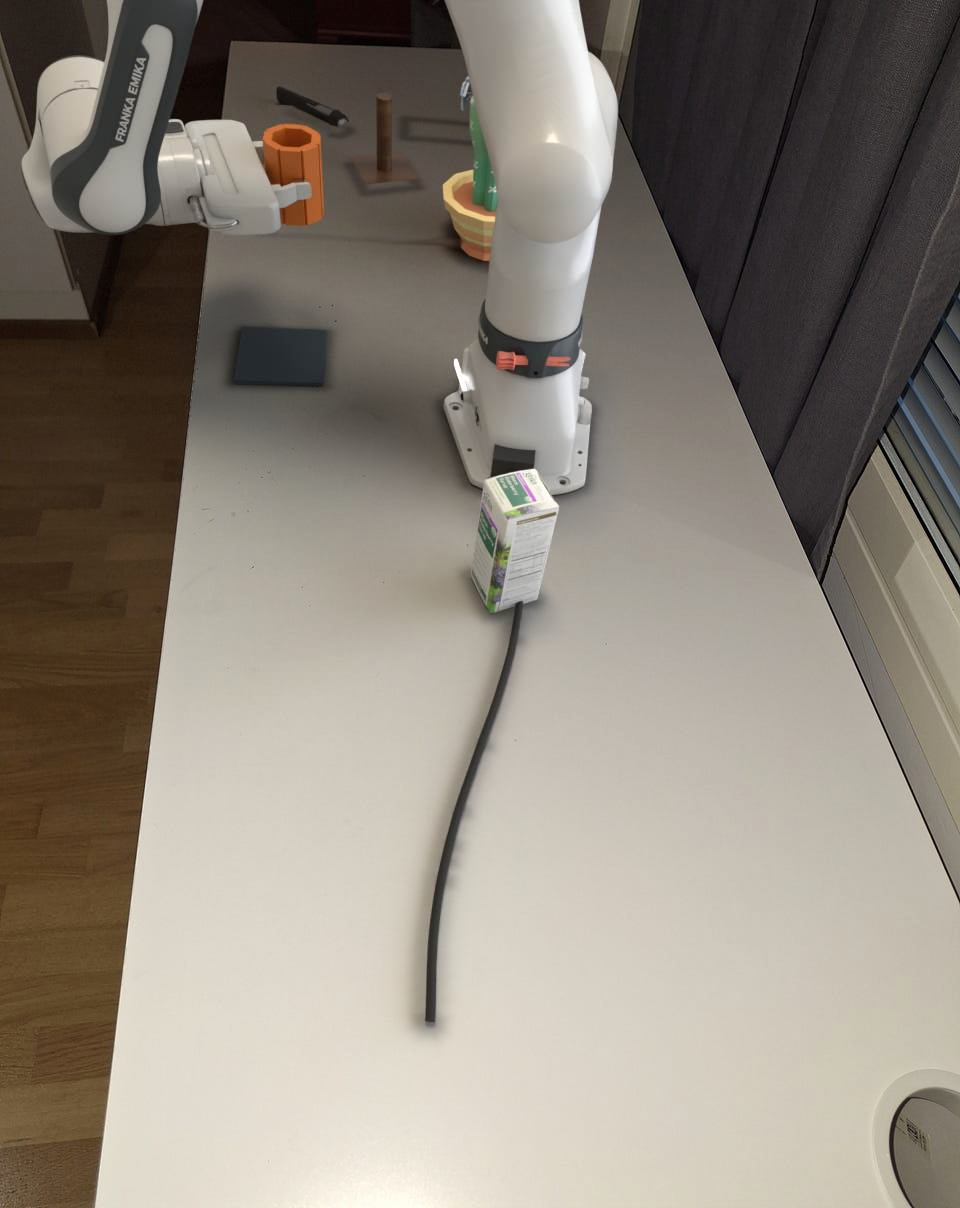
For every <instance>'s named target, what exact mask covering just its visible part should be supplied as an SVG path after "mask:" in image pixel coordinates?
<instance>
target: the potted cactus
mask: <svg viewBox="0 0 960 1208" xmlns="http://www.w3.org/2000/svg"><path fill="white" fill-rule="evenodd" d="M459 96H460V111H462V112H463V111H464V110H465V108H466V105H467V101H468V100H469V98H470V100H469V135H470V139H471V144H472V148H473V169H469V170H465V171H462V172H457V173H455V174H453V175H452V176H451V177H450V178H448V180H446V181H445V182H444V183H443V184H442V196H443V204H444V209H445V210H446V211H447V212H448V213H449V214H450V218H451V222H452V225H453V228H454V231H456V233H457V235H458V236H459V237H460V239H459V240H460V248H461V250H463V251H464V252H465V254H467V255H468V256H469V257H471V258H474V259H478V260H481V261H482V262H484V261H485V262H490V252H491V244H492V236H493V230H494V223H495V217H496V210H497V203H498V197H497V191H496V185H495V179H494V174H493V170H492V166H491V162H490V159H489V155H488V152H487V148H486V145H485V141H484V137H483V133H482V130H481V126H480V122H479V118H478V114H477V110H476V106H475V102H474V98H473V93H472V89H471V85H470V80H469V76H468V75H467V76H466V77H465V78H464V81H463V82H462V85H461V88H460V93H459Z"/></svg>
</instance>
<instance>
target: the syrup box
mask: <svg viewBox="0 0 960 1208" xmlns="http://www.w3.org/2000/svg"><path fill="white" fill-rule="evenodd" d="M559 510H560V505H559V504H558V503H557V502H556V500H555V499H554V497H553V495H551V493H550V491H549V489H548V488H547V486H546V484H545V483H544V481H543V480H542V479H541V477H540V475H539V474H538V472H537V470H536V469H529V470H522V471H516V472H511V473H507V474H503V475H499V476H496V477H492V478H489V479H486V480H484V486H483V489H482V494H481V501H480V509H479V515H478V520H477V521H478V522H477V529H476V533H475V534H476V535H475V542H474V547H473V557H472V564H471V570H470V578H471V579H472V581H473V583H474V585H475V588H476V590H477V592H478V594H479V595H480V597H481V600H482V602H483V603H484V605H485V607H486V609H487V610H488V612H489V614H494V613H497V612H501V611H504V610H505V611H506V610H508V609H512V608H515V605H516V603H517V602H519V601H523V605H524V604H527V603H531V602H535V601H537V600H538V599H539V595H540V590H541V586H542V582H543V577H544V573H545V569H546V565H547V560H548V556H549V552H550V548H551V543H552V539H553V536H554V535H553V534H554V531H555V526H556V523H557V519H558V514H559Z"/></svg>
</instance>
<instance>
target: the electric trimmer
mask: <svg viewBox="0 0 960 1208" xmlns="http://www.w3.org/2000/svg"><path fill="white" fill-rule="evenodd" d="M275 91H276V100H277V102H278V103H280V104H281V105H283V106H291V107H294V108H296V109H297V110H299V111H301V112H304V113H306V114H309V115H311V116H314V117H316V118H318V119H321V120H322V121H325V122H326V123H328V124H329V125H330V126H334V127H337V128H338V127H339V126H341V125H344V124H345V123H348V122H350V120H349V118H348V117H347V116H346V114H345V113H342V111H340V110H339V109H334V108H331V107H329V106H326V105H325V104H322V103H320V102H318V101H316V100H313V99H311V98H309V97H307V96H304V95H301V94H299V93H297V92H296V91H295V92H294V91H293V90H290V89H287V88H286V87H283V86H280V85H279V86H277V87H276V90H275Z"/></svg>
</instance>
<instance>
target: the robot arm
mask: <svg viewBox="0 0 960 1208" xmlns="http://www.w3.org/2000/svg"><path fill="white" fill-rule="evenodd" d="M444 3H445V6H446V9H447V11H448V14H449V17H450V19H451V23H452V25H453V28H454V30H455V33H456V36H457V39H458V42H459V45H460V48H461V51H462V56H463V59H464V64H465V66H466V72H467V76H469V80H470V85H471V89H472V93H473V98H474V102H475V106H476V110H477V114H478V118H479V122H480V126H481V130H482V133H483V137H484V141H485V145H486V148H487V152H488V155H489V159H490V162H491V166H492V170H493V174H494V179H495V185H496V191H497V197H498V203H497V210H496V217H495V223H494V230H493V236H492V244H491V252H490V261H488V271H487V282H486V293H485V299H484V300H483V302H482V303H481V307H480V312H479V314H478V320H477V326H478V330H477V336H476V338H475V339H474V340H473V341H472V342H471V343H470V344H469V345H467V347H466V348H464V350H463V354H462V360H461V361H462V362H461V367H460V363H459V361H458V358H454V360H453V365H454V368H455V372H456V376H457V378H458V380H459V384H458V390H457V391H455V392H452V393H451V394H448V395H447V396H446V397H445V398H444V400H443V404H442V405H443V406H442V408H443V410H444V413H445V416H446V420H447V422H448V425H449V428H450V430H451V433H452V436H453V439H454V442H455V445H456V448H457V450H458V453H459V456H460V459H461V462H462V465H463V468H464V471H465V474H466V477H467V478H468V481H469V483H470V484H472V485H473V486H476V487H477V488H479V489H482V490H483V486H484V480H486V479H489V478H492V477H496V476H499V475H503V474H507V473H511V472H516V471H522V470H529V469H536V470H537V472H538V474H539V475H540V477H541V479H542V480H543V481H544V483H545V484H546V486H547V488H548V489H549V491H550V493H551V495H552V496H555V495H557V496H558V495H562V494H567V493H571V492H573V491H576V490H578V489H580V488H582V487H584V486H585V485H586V484H585V483H586V478H587V466H588V457H589V455H588V454H589V445H590V444H589V443H590V432H591V419H592V412H593V406H592V402H590V401H589V400H588V399H587V398H585V397H584V396H580V392H581V389H582V390H588V387H589V382H590V377H589V376H588V377H587V376H583V374H582V372H583V367H584V363H585V359H586V352H585V351H584V350H583V349H582V348H581V345H582V340H583V333H584V332H583V331H584V330H583V329H584V328H583V326H584V325H583V324H584V317H583V307H584V302H585V297H586V292H587V287H588V283H589V278H590V273H591V269H592V262H593V260H594V259H593V258H594V252H595V247H596V239H597V234H598V229H599V228H598V227H599V222H600V217H601V211H602V206H603V203H604V201H605V199H606V197H607V195H608V193H609V191H610V187H611V184H612V179H613V168H614V156H615V149H616V141H617V130H618V118H619V103H618V97H617V94H616V90H615V87H614V84H613V82H612V79H611V77H610V74H609V73H608V70H607V69H606V67H605V65H604V64H603V63H602V61H601V60H600V59H599V58H598V57H597V56H595V55H594V53H592V52H590V51H589V50H588V44H587V41H586V40H587V39H586V34H585V30H584V29H585V28H584V23H583V18H582V13H581V7H580V0H444ZM106 4H107V14H108V15H107V17H108V18H107V21H108V35H107V36H108V38H107V48H106V54H105V59H104V60H102V59H99V58H96V57H93V56H89V55H78V54H77V55H76V54H75V55H68V56H64V57H61V58H58V59H56V60H54V61H52V62H51V63H49V64H48V65H47V66H46V67H45V68H44V69H43V70H42V72H41V73H40V75H39V78H38V80H37V87H36V90H37V91H36V92H37V93H36V113H35V126H34V131H33V136H32V140H31V144H30V146H29V149H28V150H27V151H26V153H24V155H23V157H22V159H21V162H20V171H21V176H22V180H23V184H24V187H25V189H26V192H27V193H28V194H27V195H28V196H29V200H30V202H31V204H32V206H33V209H34V211H35V212H36V214H37V215H38V217H39V218H40V220H41V221H42V222H43V223H44V224H46V225H47V226H48V228H51V229H52V230H56V231H60V232H66V233H79V234H83V233H84V234H85V233H86V234H89V233H91V234H92V233H96V234H99V235H106V236H119V235H125V234H128V233H132V232H134V231H135V230H138V229H139V228H141V227H143V226H144V225H152V226H156V227H157V226H158V227H166V226H175V225H185V224H194V223H195V224H197V226H199V227H200V226H202V227H204V228H206V229H208V230H209V231H214V232H215V233H217V234H221V235H224V236H261V235H262V236H263V235H271V234H275V233H277V232H278V231H279V230H280V229H281V227H282V223H281V221H280V210H279V208H285V207H287V206H288V205H290V204H292V203H294V202H296V201H297V200H303V199H309V198H311V196H312V194H311V186H310V184H309V182H308V180H307V179H306V178H302V179H293V183H291V184H288V185H285V186H282V187H281V185H280V184H276V185H271V184H270V182H269V179H268V177H267V175H266V170H265V167H264V166H263V165H265V160H264V150H263V140H255V141H252V138H251V136H250V134H249V131H248V129H247V127H246V125H245V123H243V122H241V121H237V120H233V119H204V120H202V119H201V120H193V121H189V122H186V123H185V124H184V122H183V121H182V120H181V119H177V118H171V116H172V113H173V108H174V105H175V103H176V99H177V95H178V92H179V90H180V86H181V82H182V78H183V76H184V72H185V68H186V64H187V60H188V58H189V54H190V53H189V52H190V48H191V44H192V40H193V37H194V33H195V29H196V26H197V23H198V20H199V16H200V13H201V11H202V7H203V4H204V0H106ZM523 607H524V604H523V601H519V602H517V603H516V605H515V607H514V612H513V618H512V623H511V624H512V625H511V630H510V635H509V639H508V640H509V641H508V645H507V650H506V654H505V658H504V662H503V665H502V669H501V673H500V675H499V678H498V682H497V685H496V688H495V691H494V694H493V698H492V701H491V703H490V706H489V710H488V711H487V715H486V717H485V720H484V724H483V726H482V728H481V730H480V734H479V737H478V739H477V742H476V746H475V748H474V751H473V753H472V756H471V758H470V762H469V765H468V768H467V771H466V774H465V776H464V779H463V782H462V785H461V787H460V791H459V793H458V797H457V798H456V799H457V800H456V803H455V806H454V809H453V812H452V815H451V819H450V822H449V826H448V829H447V833H446V837H445V841H444V846H443V849H442V853H441V857H440V861H439V866H438V871H437V875H436V880H435V886H434V892H433V898H432V904H431V911H430V919H429V926H428V937H427V953H426V977H425V978H426V981H425V1016H424V1019H425V1020H424V1021H425V1022H427V1023H434V1022H436V1011H437V971H438V970H437V968H438V967H437V965H438V964H437V963H438V944H439V932H440V930H439V929H440V921H441V912H442V905H443V899H444V893H445V892H444V891H445V886H446V881H447V875H448V871H449V866H450V862H451V858H452V853H453V849H454V844H455V840H456V836H457V833H458V829H459V826H460V822H461V819H462V815H463V811H464V808H465V805H466V802H467V800H468V796H469V794H470V790H471V788H472V784H473V781H474V778H475V776H476V773H477V770H478V767H479V764H480V761H481V759H482V755H483V752H484V749H485V746H486V744H487V741H488V738H489V735H490V732H491V730H492V727H493V725H494V722H495V719H496V716H497V713H498V710H499V707H500V705H501V701H502V698H503V695H504V692H505V688H506V686H507V681H508V678H509V675H510V672H511V669H512V664H513V662H514V661H513V660H514V658H515V654H516V649H517V644H518V638H519V634H520V628H521V627H520V626H521V621H522V614H523Z"/></svg>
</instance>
